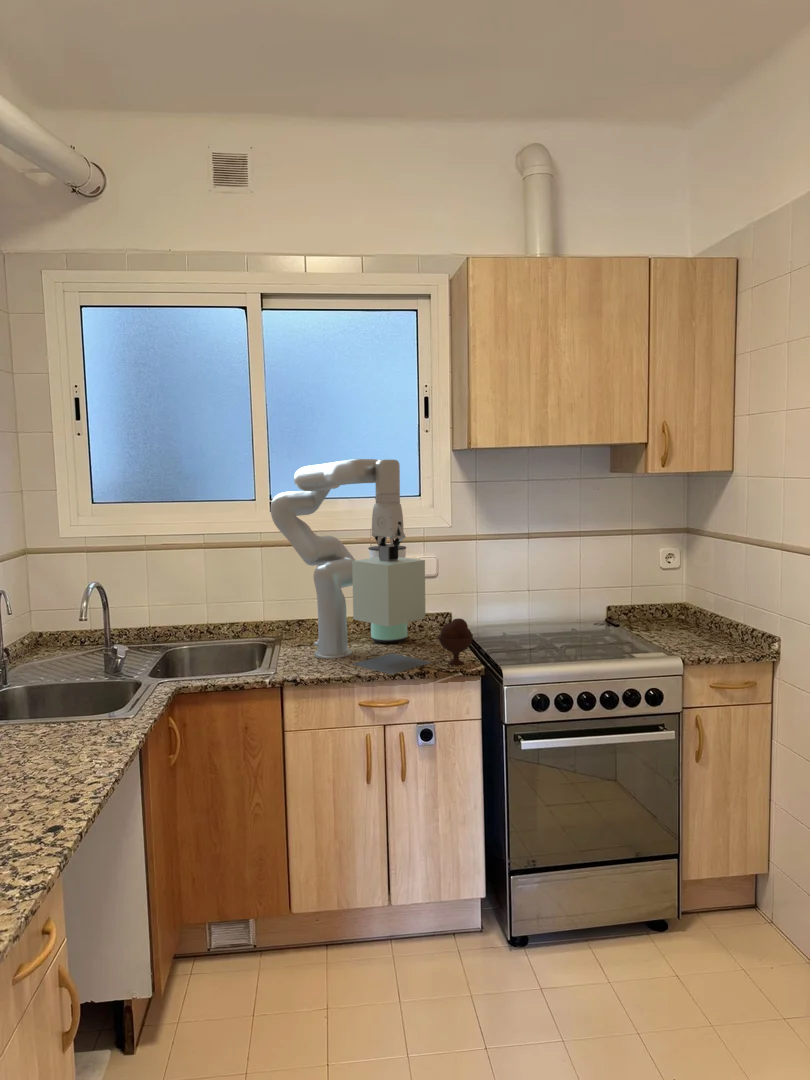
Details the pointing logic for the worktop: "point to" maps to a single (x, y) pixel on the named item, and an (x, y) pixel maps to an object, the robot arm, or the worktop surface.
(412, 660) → the mat
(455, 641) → the ice cream bowl
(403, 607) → the cover
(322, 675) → the worktop surface
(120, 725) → the worktop surface
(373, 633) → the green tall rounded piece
